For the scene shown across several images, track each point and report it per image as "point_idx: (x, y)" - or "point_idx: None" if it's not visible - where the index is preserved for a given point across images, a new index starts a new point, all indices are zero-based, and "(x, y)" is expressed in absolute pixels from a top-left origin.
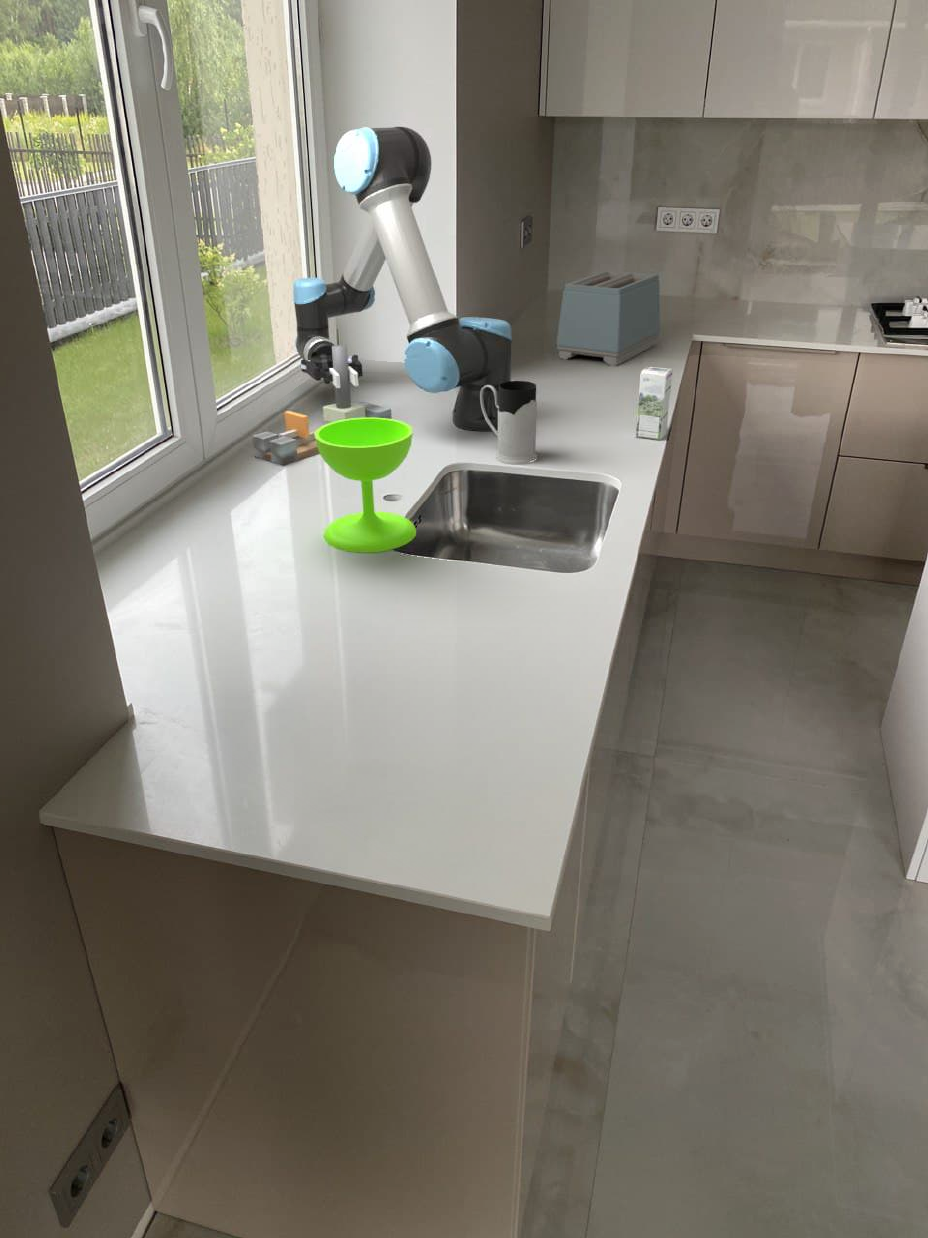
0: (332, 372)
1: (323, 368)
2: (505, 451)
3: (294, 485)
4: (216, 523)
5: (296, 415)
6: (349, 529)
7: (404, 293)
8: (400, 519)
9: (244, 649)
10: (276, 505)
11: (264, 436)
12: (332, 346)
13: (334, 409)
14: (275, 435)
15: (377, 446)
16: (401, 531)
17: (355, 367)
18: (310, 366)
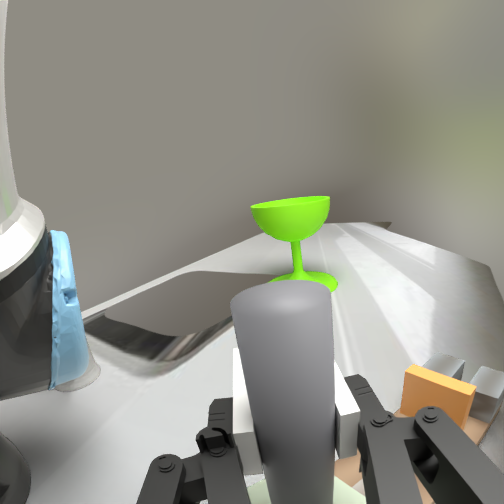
0: (337, 369)
1: (395, 423)
2: (92, 355)
3: (389, 339)
4: (435, 287)
5: (435, 372)
6: (316, 278)
7: (5, 110)
8: None
9: (361, 241)
10: (394, 308)
11: (487, 375)
12: (326, 298)
13: (340, 483)
14: (469, 383)
15: (283, 199)
16: (276, 279)
17: (195, 473)
18: (488, 462)
